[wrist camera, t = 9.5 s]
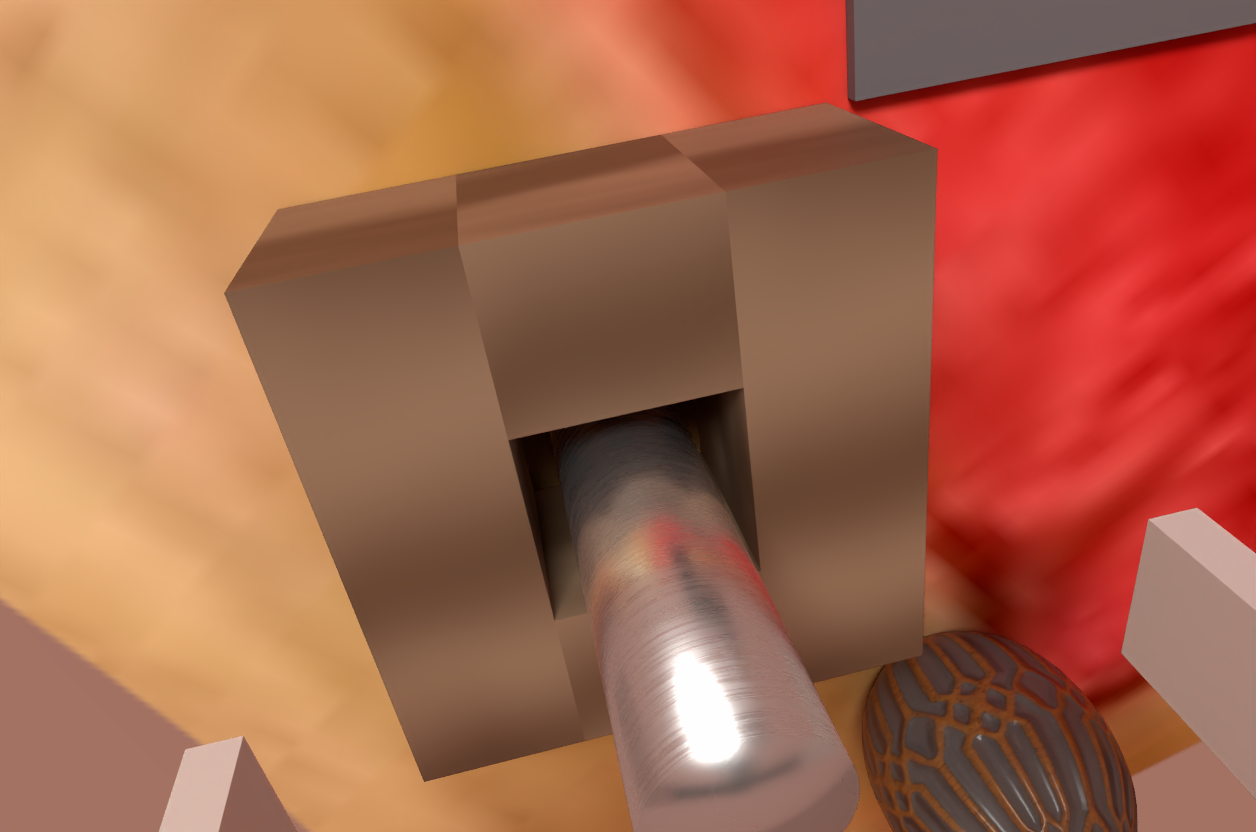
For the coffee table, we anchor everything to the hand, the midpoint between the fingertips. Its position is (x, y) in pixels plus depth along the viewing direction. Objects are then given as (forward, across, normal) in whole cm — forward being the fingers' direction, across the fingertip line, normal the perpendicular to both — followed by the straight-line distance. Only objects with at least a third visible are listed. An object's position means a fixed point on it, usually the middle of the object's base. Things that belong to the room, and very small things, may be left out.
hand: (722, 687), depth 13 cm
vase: (+10, +9, -14) cm, 19 cm away
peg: (+10, 0, 0) cm, 10 cm away
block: (+10, 0, 0) cm, 10 cm away
